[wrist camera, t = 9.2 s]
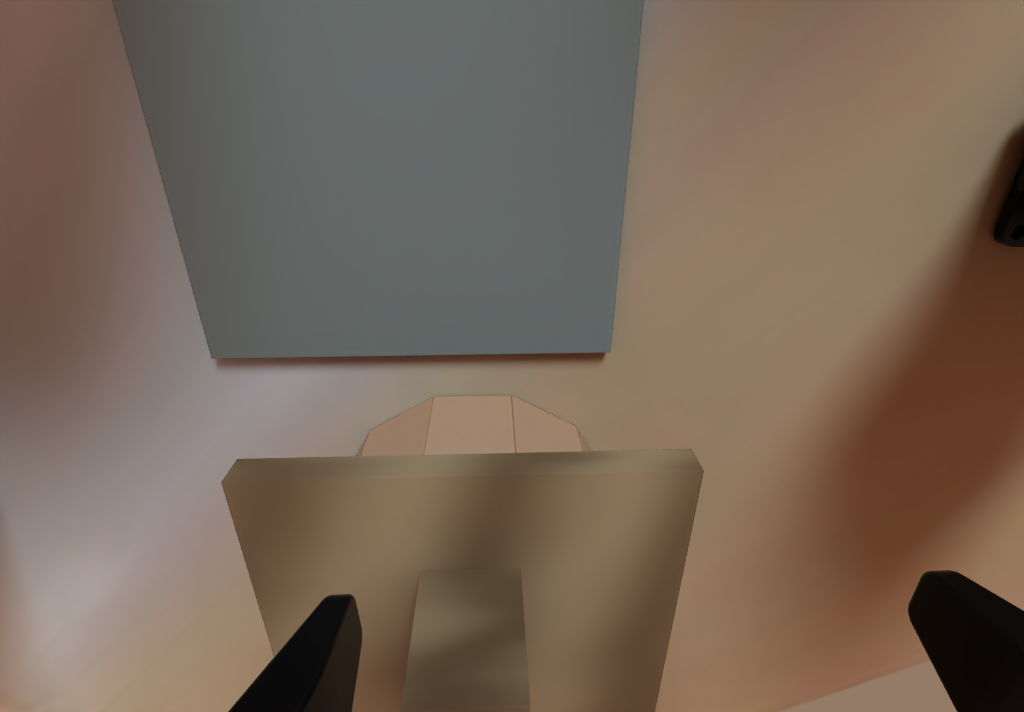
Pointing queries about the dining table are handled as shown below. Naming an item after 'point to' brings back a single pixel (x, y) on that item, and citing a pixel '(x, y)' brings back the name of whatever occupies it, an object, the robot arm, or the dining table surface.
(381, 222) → the rubber mat
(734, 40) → the dining table surface
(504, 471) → the walnut lid
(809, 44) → the dining table surface
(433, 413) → the terracotta bowl
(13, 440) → the dining table surface
